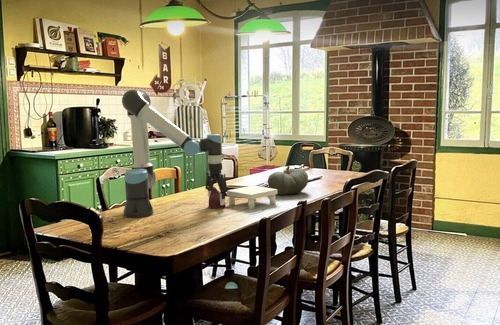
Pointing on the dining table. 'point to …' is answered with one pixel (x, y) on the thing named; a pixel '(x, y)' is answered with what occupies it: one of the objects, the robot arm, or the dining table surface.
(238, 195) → the footstool
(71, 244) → the dining table surface
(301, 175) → the gourd
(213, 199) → the vegetable
